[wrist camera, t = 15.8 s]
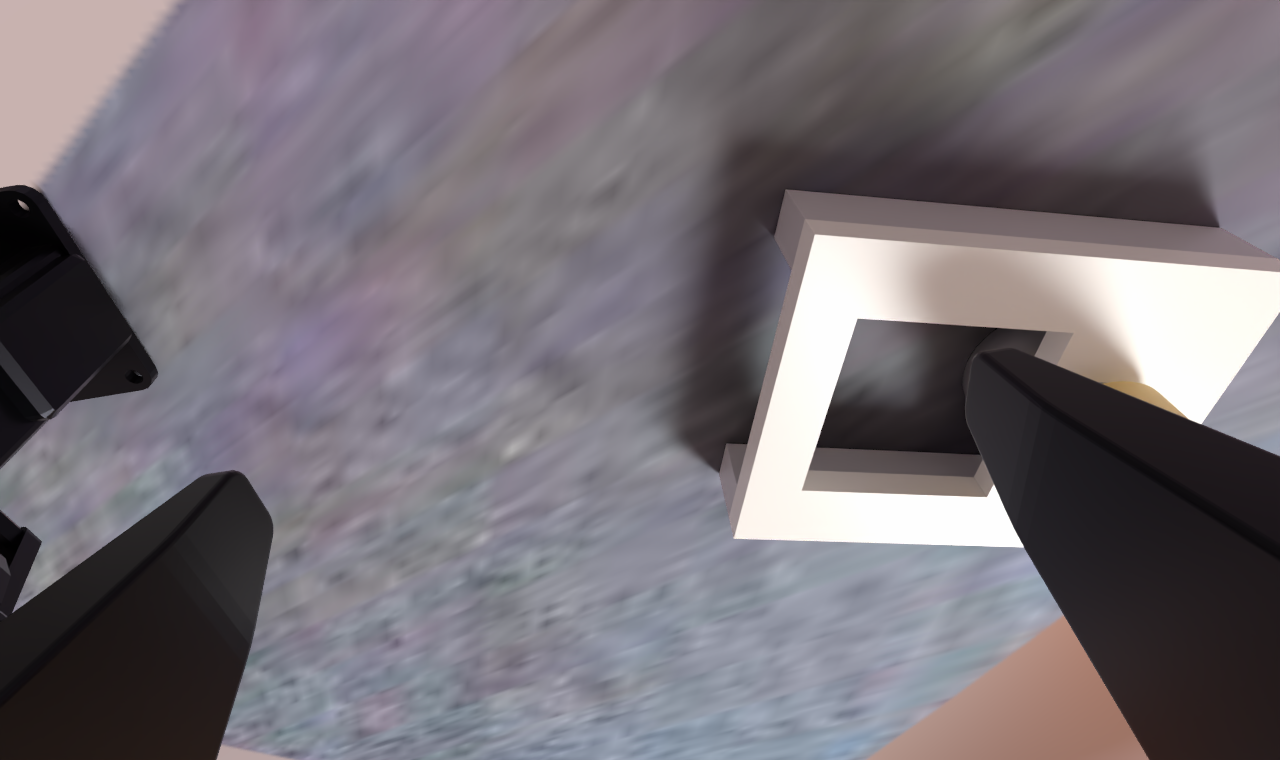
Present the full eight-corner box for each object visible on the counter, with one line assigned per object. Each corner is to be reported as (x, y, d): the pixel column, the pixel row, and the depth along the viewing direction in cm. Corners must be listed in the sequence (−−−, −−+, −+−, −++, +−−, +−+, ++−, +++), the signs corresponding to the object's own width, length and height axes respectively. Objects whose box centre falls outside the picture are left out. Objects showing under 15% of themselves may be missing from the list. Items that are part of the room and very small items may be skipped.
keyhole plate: (719, 474, 27) (733, 538, 24) (785, 189, 21) (814, 234, 18) (1064, 488, 29) (1113, 549, 26) (1221, 228, 22) (1305, 274, 20)
